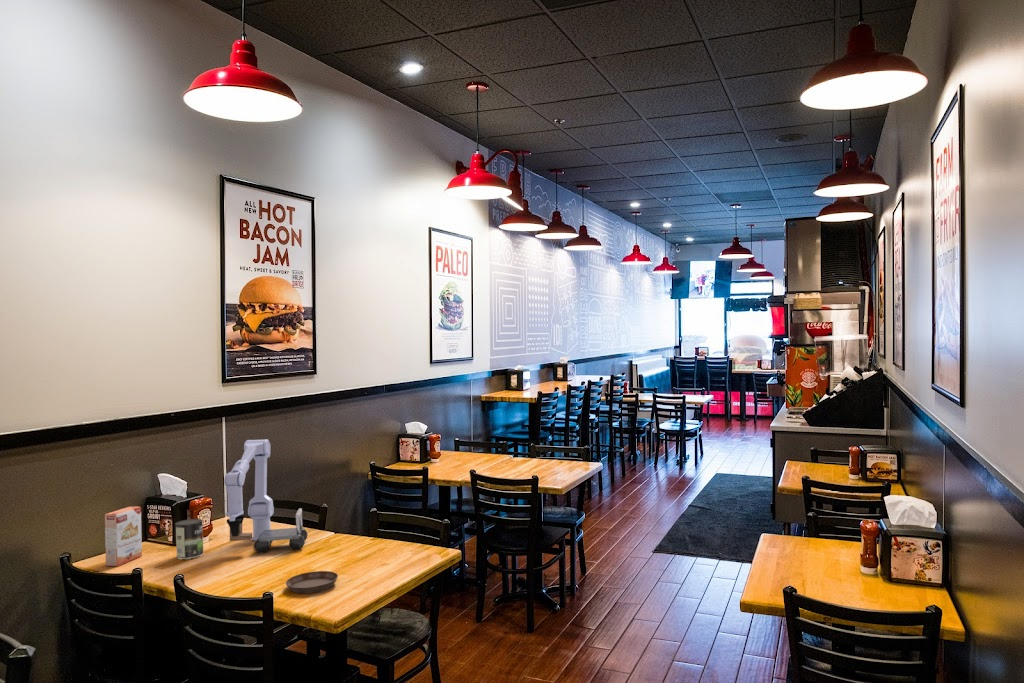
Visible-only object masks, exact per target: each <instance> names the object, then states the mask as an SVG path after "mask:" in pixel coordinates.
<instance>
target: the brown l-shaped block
mask: <svg viewBox="0 0 1024 683" xmlns="http://www.w3.org/2000/svg"><path fill="white" fill-rule="evenodd" d="M252 538H253V532H243V522H242V523H240V526H239V534H238V536H235V537H232V534H231V530H230V529H229V542H239V541H243V542H244V541H251V539H252Z"/></svg>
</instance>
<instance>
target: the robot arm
mask: <svg viewBox="0 0 1024 683" xmlns="http://www.w3.org/2000/svg"><path fill="white" fill-rule="evenodd" d="M243 451H244V452H243V454H242V456H241V459H239V460H237V461H236V462H235V464H234V465H233V467H232V469H231V471H229V472H227V473H226V474H225V476H224V481H223V482H224V486H225V491H226V492H227V510H228V511H226V512H225V513H224V515H225V516H227V517H229V518H227V519H226V524H228V527H229V531H230V530H231V534H232V537H235V536H238V534H239V526H240V523H242V524H243V522H244V519H245V517H246V514H245V513H244V512H245V511H244V503H243V502H244V500H243V496H244V495H243V486H244V484H245V481H246V480H245V479H246V475H247V473H248V471H249V469H250V462H252V460H254V461H255V467H254V468H255V469H254V470H255V472H254V497H252V498H251V499H250V500H249V501H248V508H247V515H248V516H249V518H250V520H252V539H251V540H254V541H256V540H257V539H258V538H259V536H260V534H261V533H262V532H263V531H264V530H272V529H271V528H272V526H271V517H272V516H273V515H274V513H275V512H274V511H275V507H274V500H273V499H272V498H271V497H270V496H269V495H267V493H268V492H267V491H268V490H267V488H268V487H267V484H268V480H267V479H268V478H267V477H268V458H270V457H271V442H270V441H269V439H267V438H266V439H247V440H246V441H245V442H244V445H243ZM251 540H250V541H251Z"/></svg>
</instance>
